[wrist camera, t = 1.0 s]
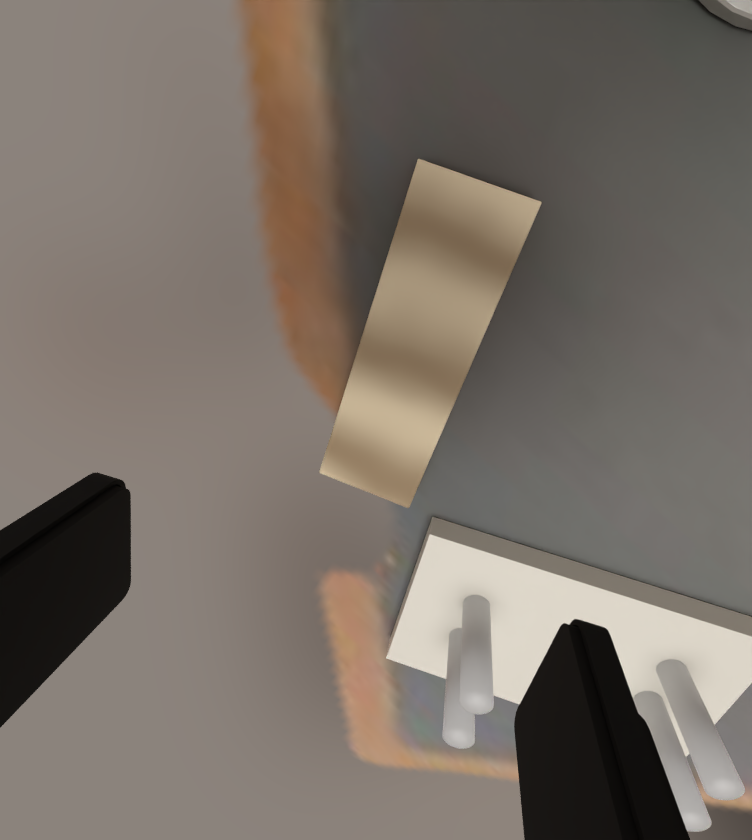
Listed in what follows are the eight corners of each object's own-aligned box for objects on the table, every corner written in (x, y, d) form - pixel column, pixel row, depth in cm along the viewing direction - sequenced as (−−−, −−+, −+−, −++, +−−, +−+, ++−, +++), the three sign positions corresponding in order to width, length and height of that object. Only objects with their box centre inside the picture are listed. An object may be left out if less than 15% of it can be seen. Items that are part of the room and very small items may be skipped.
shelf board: (424, 166, 24) (418, 158, 21) (534, 205, 24) (541, 202, 21) (332, 451, 31) (319, 472, 29) (414, 483, 31) (408, 508, 28)
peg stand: (432, 516, 31) (417, 617, 23) (764, 620, 29) (875, 771, 21) (390, 636, 36) (366, 754, 28) (671, 732, 34) (732, 889, 26)
